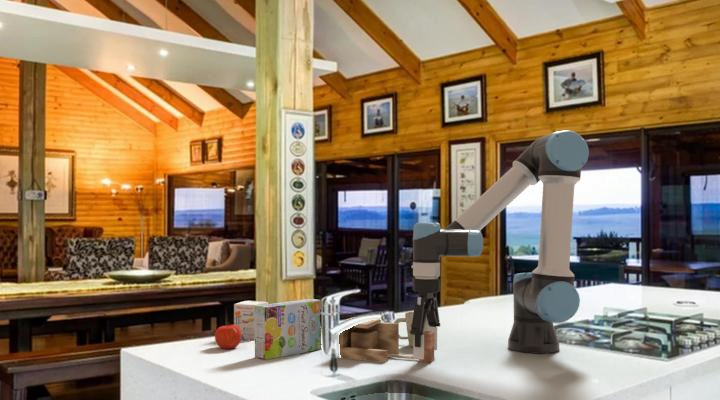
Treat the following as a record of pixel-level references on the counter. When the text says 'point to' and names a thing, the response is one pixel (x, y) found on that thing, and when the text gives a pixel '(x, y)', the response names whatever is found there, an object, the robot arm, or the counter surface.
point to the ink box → (246, 318)
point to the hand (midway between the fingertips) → (425, 354)
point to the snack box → (287, 328)
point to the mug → (408, 321)
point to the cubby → (386, 341)
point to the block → (370, 340)
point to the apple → (228, 336)
